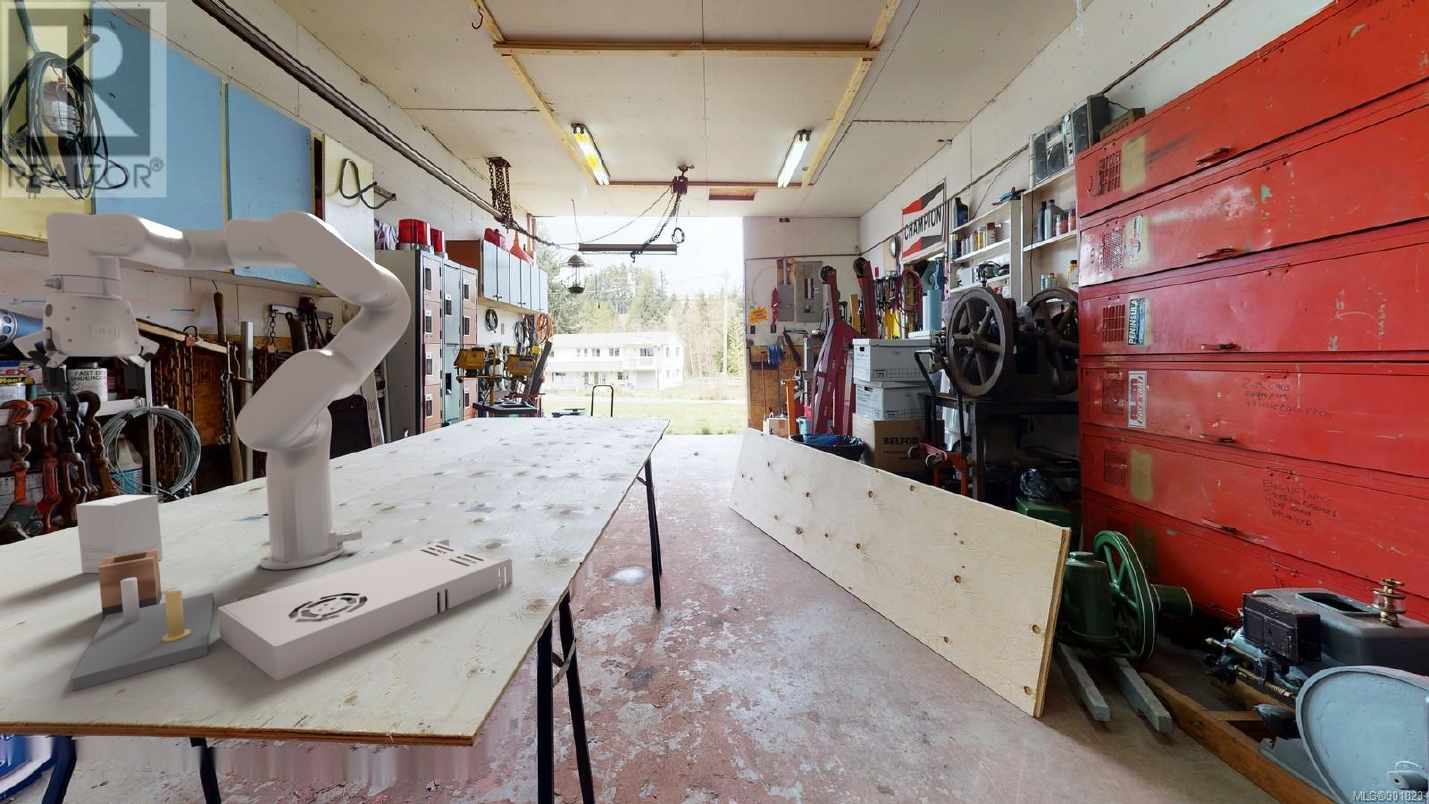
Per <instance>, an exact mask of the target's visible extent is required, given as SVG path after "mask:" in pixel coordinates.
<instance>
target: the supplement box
mask: <svg viewBox="0 0 1429 804" xmlns="http://www.w3.org/2000/svg"><path fill="white" fill-rule="evenodd" d="M158 501H159V500H158V495H155V494H150V495H149V494H146V495H145V494H121V495H116V496H111V497H105V498H102V499H96V500H92V501H87V502H83V503H78V504H76V505H75V508H76V509H75V510H76V519H77V520H76V521H77V531H78V539H79V549H80V550H79V551H80V561H81V562H80V563H81V573H83V574H99V569H98V568H99V566H100V565H101V563H102V562H103V561H104V559H105V558H106V557H111V556H117V555H123V554H129V553H136V552H142V551H148V550H154V549H158V558H159V560H160V561H162V560H163V559H164V558H163V546H162V545H163V544H162V534H161V522H160V512H159V502H158Z"/></svg>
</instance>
